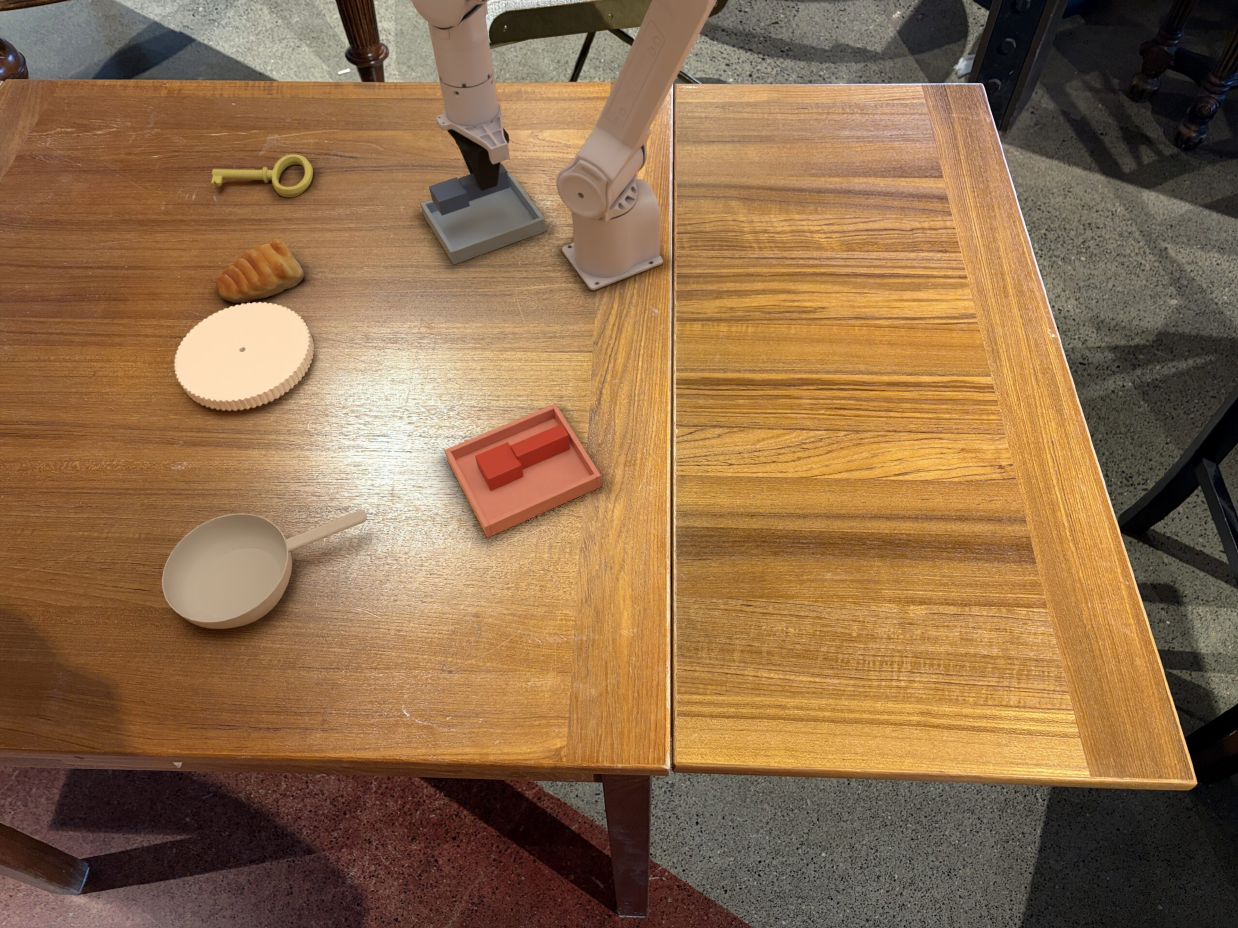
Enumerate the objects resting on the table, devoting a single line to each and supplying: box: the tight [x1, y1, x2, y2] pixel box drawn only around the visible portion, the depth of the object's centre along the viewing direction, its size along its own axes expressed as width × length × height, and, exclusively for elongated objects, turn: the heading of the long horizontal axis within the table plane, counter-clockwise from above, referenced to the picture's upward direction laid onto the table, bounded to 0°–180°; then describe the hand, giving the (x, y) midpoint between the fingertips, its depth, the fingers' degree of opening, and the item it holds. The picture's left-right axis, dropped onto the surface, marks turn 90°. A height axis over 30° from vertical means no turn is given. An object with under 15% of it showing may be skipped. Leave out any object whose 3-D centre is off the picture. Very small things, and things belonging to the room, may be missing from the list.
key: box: [210, 153, 314, 198], centre depth 113 cm, size 7×12×2 cm, turn 113°
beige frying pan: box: [161, 509, 368, 630], centre depth 80 cm, size 11×18×4 cm, turn 114°
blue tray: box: [419, 172, 547, 265], centre depth 108 cm, size 12×10×2 cm
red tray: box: [444, 403, 603, 539], centre depth 86 cm, size 12×10×2 cm
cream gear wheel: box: [173, 301, 315, 412], centre depth 95 cm, size 14×14×2 cm
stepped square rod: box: [428, 163, 510, 216], centre depth 104 cm, size 9×3×2 cm, turn 118°
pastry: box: [216, 238, 305, 304], centre depth 102 cm, size 9×7×4 cm
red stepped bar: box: [475, 424, 570, 491], centre depth 87 cm, size 9×3×2 cm, turn 118°
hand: (484, 181), depth 104 cm, fingers closed on stepped square rod, 1 cm apart
